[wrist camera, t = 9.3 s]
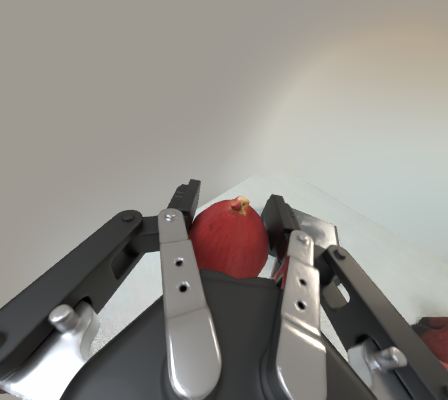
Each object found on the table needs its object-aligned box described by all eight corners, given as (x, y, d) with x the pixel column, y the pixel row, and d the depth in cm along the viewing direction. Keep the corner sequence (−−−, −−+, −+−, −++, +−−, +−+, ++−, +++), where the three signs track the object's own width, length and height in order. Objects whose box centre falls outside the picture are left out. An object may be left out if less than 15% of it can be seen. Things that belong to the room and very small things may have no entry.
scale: (248, 244, 32) (253, 233, 30) (264, 206, 43) (269, 196, 41) (336, 286, 28) (348, 276, 26) (330, 233, 39) (338, 223, 37)
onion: (184, 243, 16) (190, 167, 11) (242, 243, 17) (269, 175, 13) (182, 313, 11) (190, 233, 7) (260, 305, 13) (313, 235, 8)
